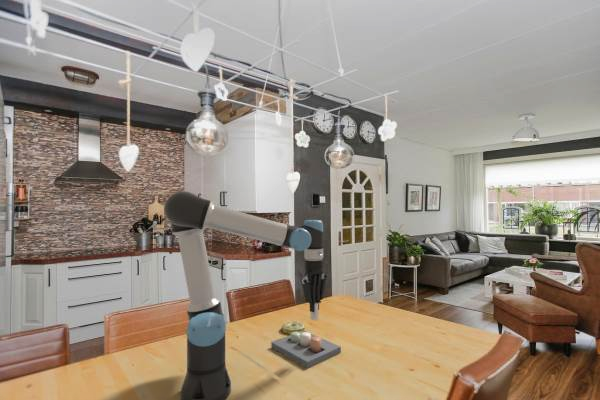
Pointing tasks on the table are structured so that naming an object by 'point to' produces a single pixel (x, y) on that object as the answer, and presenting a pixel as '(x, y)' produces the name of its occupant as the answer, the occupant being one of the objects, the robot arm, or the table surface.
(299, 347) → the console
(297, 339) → the sage button
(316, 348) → the terracotta button
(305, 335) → the white egg
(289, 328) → the decorated donut
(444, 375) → the table surface
